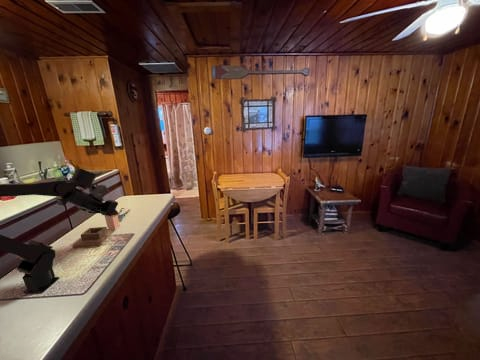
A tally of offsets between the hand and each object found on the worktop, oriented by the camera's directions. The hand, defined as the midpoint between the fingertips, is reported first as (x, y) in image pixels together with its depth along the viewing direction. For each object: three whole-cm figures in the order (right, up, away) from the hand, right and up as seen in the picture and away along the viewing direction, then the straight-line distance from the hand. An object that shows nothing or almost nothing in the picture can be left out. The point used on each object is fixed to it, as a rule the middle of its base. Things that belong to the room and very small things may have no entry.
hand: (113, 213), depth 91 cm
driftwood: (-14, -7, +30) cm, 34 cm away
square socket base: (-12, -13, +5) cm, 18 cm away
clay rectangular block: (0, -7, +1) cm, 7 cm away
